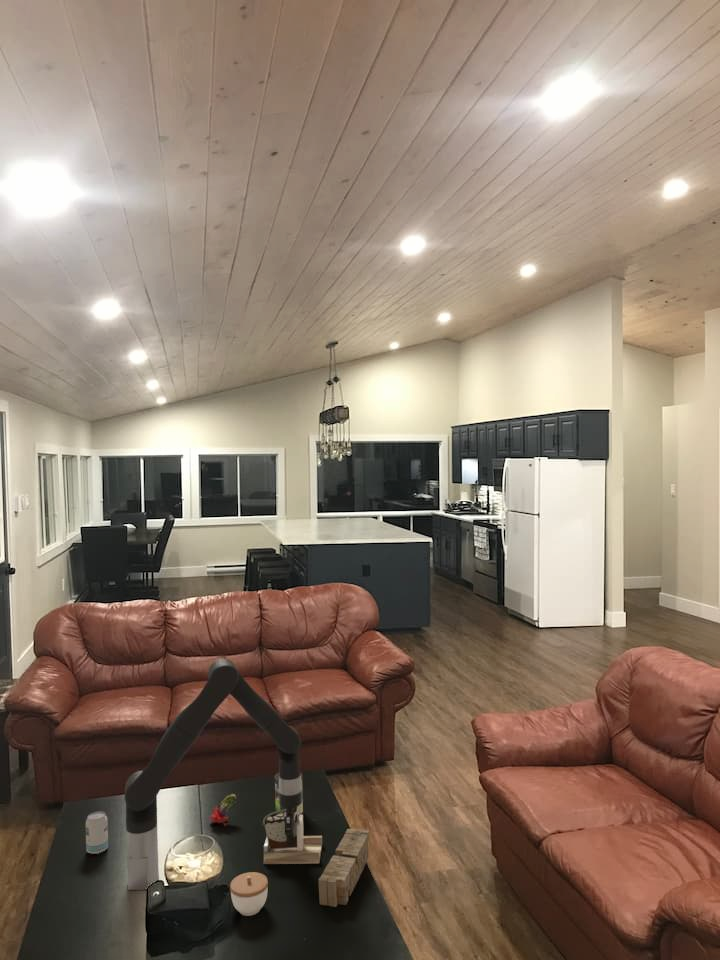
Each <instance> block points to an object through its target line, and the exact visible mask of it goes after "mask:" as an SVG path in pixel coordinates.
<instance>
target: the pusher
mask: <svg viewBox="0 0 720 960" xmlns="http://www.w3.org/2000/svg"><path fill="white" fill-rule="evenodd" d="M299 820H300V823H299V822H298V825H297V851H302V849H303V845H304V836H305V835H304V814H302V815H299Z"/></svg>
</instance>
